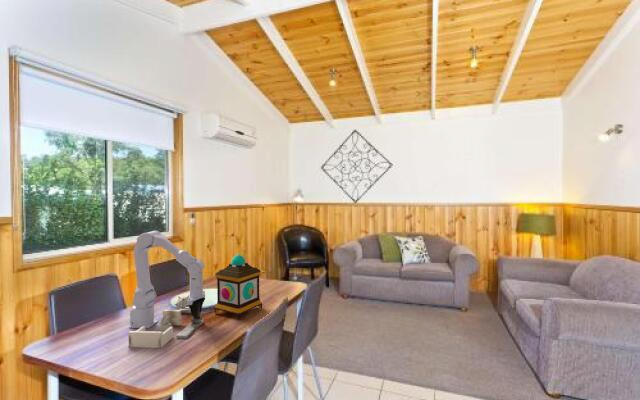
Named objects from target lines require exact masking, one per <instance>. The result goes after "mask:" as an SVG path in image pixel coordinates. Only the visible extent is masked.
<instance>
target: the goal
mask: <svg viewBox="0 0 640 400" xmlns="http://www.w3.org/2000/svg"><path fill="white" fill-rule="evenodd" d="M127 336H128V348H149V349H151V348H157V349H158V348H159V349H161V348H162V347H164V346H165V345H166V344H167V343H168V342H169V341H171V340H172V338H174V327H173V326H171V327H169V328H168V329H167V330H166V331H164V332H160V331H158V330H157V331H153V330H151V331H149V330H148V331H147V330H146V328H145V326H142V327H141V328H137V329H136V330H129V331H128V335H127Z"/></svg>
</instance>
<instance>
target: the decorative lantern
mask: <svg viewBox="0 0 640 400" xmlns="http://www.w3.org/2000/svg"><path fill="white" fill-rule="evenodd" d="M261 273H262V270H260V269H259V268H258V267H254V266H251V264H249V262H246V259H245V257H244V256H243V255H241V254H236V255H234V256H233V258H232V259H231V263H229V264H228V265H227V266H226V267H224V268H223V269H219V270H218V271H217V272H216V273H214V276H215V277H216V281H217V282H216V283H217V286H216V289H217V299H216V300H217V302H216V305H214V314H215V315H218V314H219V311H221V312H226V313H230V314H233V315H236V316H237V321H240V320H241V317H242V315H243V314H244V313H246V312H248V311H251V310H253V309H255V308H257V307H258V309H259V310H260V311H261V310H262V309H263V303H262V301H261V298H260V275H261Z"/></svg>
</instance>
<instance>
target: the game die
mask: <svg viewBox="0 0 640 400" xmlns="http://www.w3.org/2000/svg"><path fill="white" fill-rule="evenodd" d="M189 296H190V295H188V296H178V299H177V301H176V302H175V304H174V306H176V308H177V309H176V310H180V309H184V308H185V307H189V306H188V305H187V300H188V299H189Z"/></svg>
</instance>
